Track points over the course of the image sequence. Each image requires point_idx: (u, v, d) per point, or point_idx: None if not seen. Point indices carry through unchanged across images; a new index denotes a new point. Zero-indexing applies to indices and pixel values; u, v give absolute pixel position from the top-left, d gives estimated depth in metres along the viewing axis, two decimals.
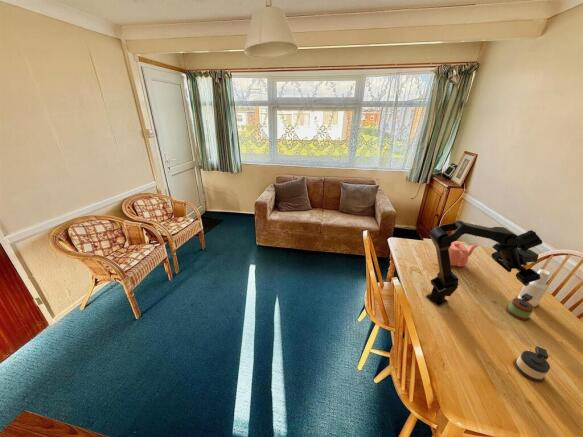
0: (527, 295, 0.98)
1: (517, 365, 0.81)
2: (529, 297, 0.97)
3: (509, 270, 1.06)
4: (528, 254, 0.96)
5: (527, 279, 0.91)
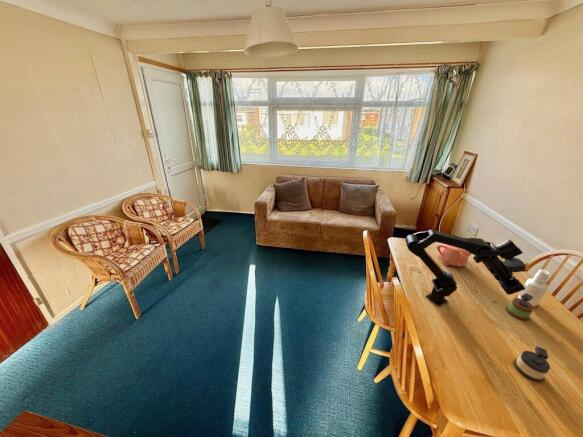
0: (527, 295, 0.98)
1: (517, 365, 0.81)
2: (529, 297, 0.97)
3: None
4: (514, 264, 0.93)
5: (509, 290, 0.90)
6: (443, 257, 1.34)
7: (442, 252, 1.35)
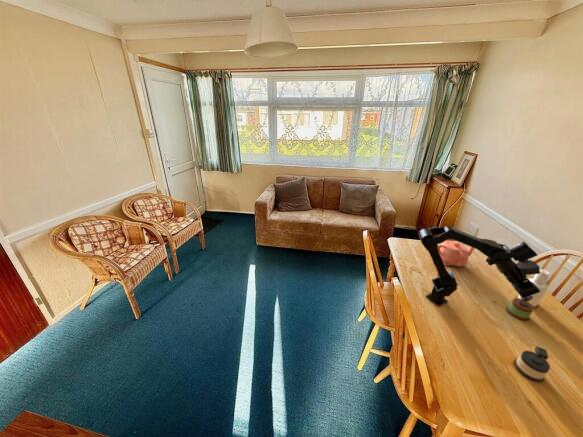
0: None
1: (517, 365, 0.81)
2: (529, 297, 0.97)
3: None
4: (528, 266, 0.92)
5: (524, 293, 0.89)
6: (443, 257, 1.34)
7: (442, 252, 1.35)
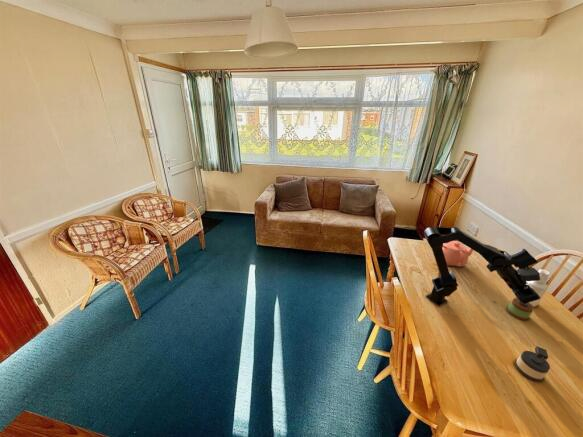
0: None
1: (517, 365, 0.81)
2: None
3: None
4: (528, 272, 0.93)
5: (524, 299, 0.90)
6: None
7: None
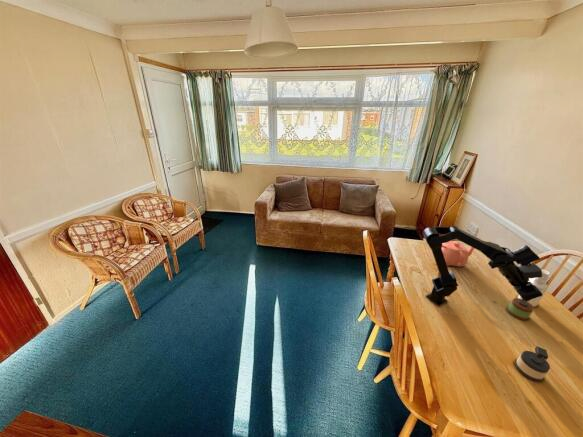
0: None
1: (517, 365, 0.81)
2: None
3: None
4: (530, 269, 0.92)
5: (526, 296, 0.89)
6: None
7: None
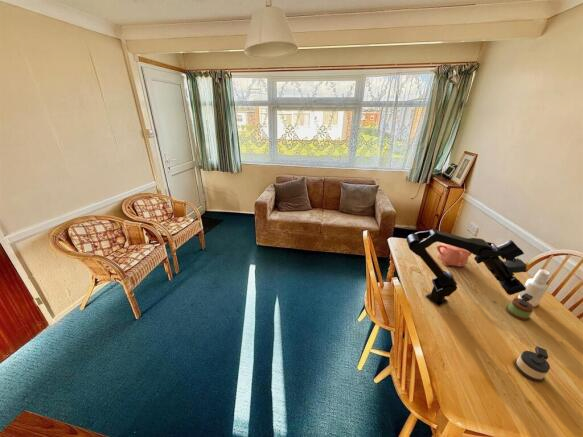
0: (527, 295, 0.98)
1: (517, 365, 0.81)
2: (529, 297, 0.97)
3: None
4: (515, 264, 0.93)
5: (510, 290, 0.90)
6: (443, 257, 1.34)
7: (442, 252, 1.35)
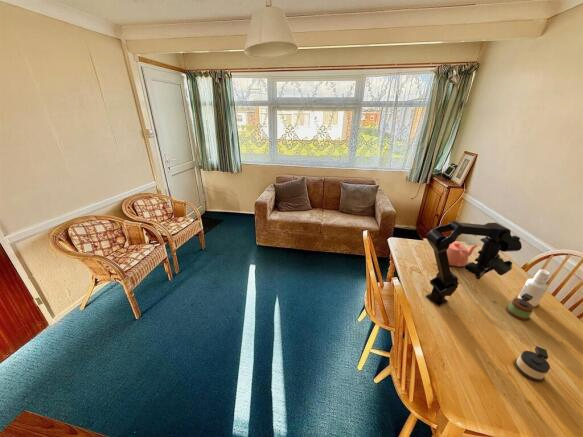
0: (527, 295, 0.98)
1: (517, 365, 0.81)
2: (529, 297, 0.97)
3: None
4: (501, 265, 0.96)
5: (468, 266, 1.00)
6: None
7: None
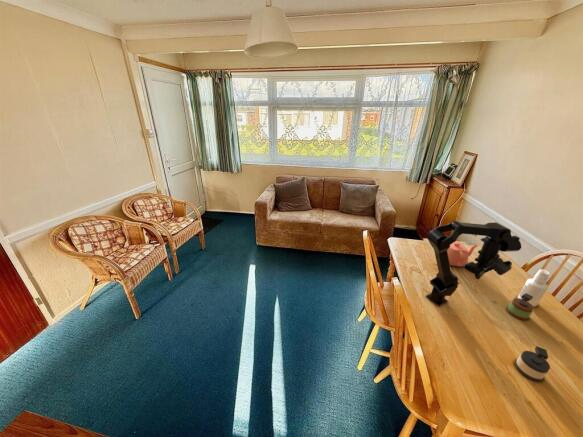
0: (527, 295, 0.98)
1: (517, 365, 0.81)
2: (529, 297, 0.97)
3: None
4: (501, 265, 0.96)
5: (468, 266, 1.00)
6: None
7: None
